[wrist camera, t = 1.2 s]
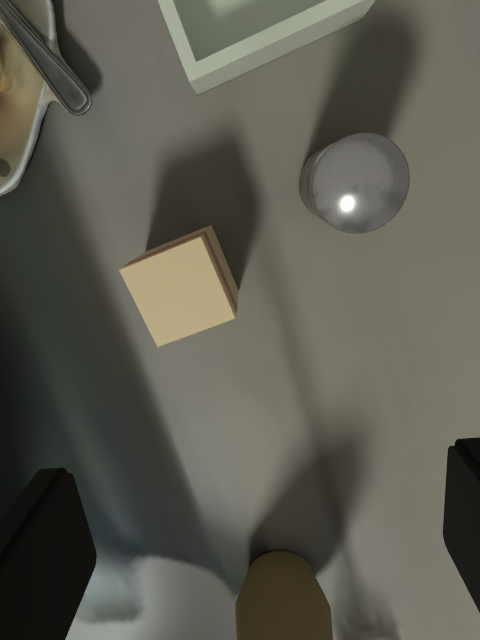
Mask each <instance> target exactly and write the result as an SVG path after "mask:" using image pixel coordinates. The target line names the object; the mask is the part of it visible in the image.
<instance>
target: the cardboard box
mask: <svg viewBox="0 0 480 640" xmlns="http://www.w3.org/2000/svg"><path fill="white" fill-rule="evenodd" d="M119 271H120V273H121V275H122V277H123V279H124V281H125V283H126V285H127V287H128V289H129V291H130V293H131V295H132V297H133V299H134V301H135V303H136V305H137V307H138V309H139V311H140V313H141V315H142V317H143V319H144V321H145V323H146V325H147V327H148V329H149V331H150V333H151V335H152V337H153V339H154V341H155V343H156V345H157V347H159V346H162V345H164V344H167V343H170V342H172V341H175V340H178V339H181V338H183V337H186V336H189V335H191V334H194V333H197V332H200V331H202V330H205V329H208V328H210V327H213V326H216V325H219V324H221V323H224V322H227V321H229V320H232V319H235V318H236V312H237V301H238V293H239V291H238V288H237V286H236V283H235V281H234V278H233V276H232V274H231V271H230V269H229V266H228V264H227V261H226V259H225V257H224V254H223V252H222V249H221V247H220V244H219V242H218V240H217V237H216V235H215V232H214V230H213V228H212V225H209V226H207V227H204V228H202V229H199V230H197V231H195V232H192V233H190V234H187V235H185V236H182V237H180V238H177V239H175V240H173V241H170V242H168V243H165V244H163V245H160V246H158V247H155V248H153V249H150V250H148V251H146V252H144V253H143V254H141V255H140V256H138V257H137V258H135V259H134V260H133V261H131V262H129V263H128V264H126V265H125V266H124V267H123V268H121V269H120V270H119Z"/></svg>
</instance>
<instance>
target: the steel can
mask: <svg viewBox="0 0 480 640" xmlns="http://www.w3.org/2000/svg"><path fill="white" fill-rule="evenodd" d="M409 181H410V175H409V168H408V164H407V161H406V158H405V156H404V154H403V153H402V151H401V150H400V148H399V147H398V146H397V145H396V144H395V143H394V142H393V141H391V140H390V139H388V138H386V137H385V136H382V135H380V134H376V133H369V132H362V133H355V134H351V135H348V136H346V137H344V138H342V139H340V140H338V141H337V142H335V143H332V144H330V145H328V146H325V147H323V148H321V149H319V150H318V151H316V152H315V153H313V154H312V155H311V156H310V157H309V158H308V160H307V161H306V162H305V164H304V166H303V168H302V170H301V173H300V177H299V192H300V196H301V199H302V201H303V203H304V204H305V206H306V207H307V208H308V209H309V210H310V211H311V212H312V213H313V214H315V215H316V216H318V217H320V218H321V219H323V220H325V221H326V222H327V223H328V224H330V225H331V226H332V227H334V228H336V229H338V230H340V231H343V232H347V233H355V234H356V233H366V232H370V231H373V230H375V229H378V228H380V227H381V226H383V225H385V224H386V223H387V222H389V221H390V220H391V219H392V218H393V217H394V216H395V215H396V214H397V212H398V211H399V210H400V208H401V207H402V205H403V203H404V201H405V199H406V196H407V193H408V189H409Z"/></svg>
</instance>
